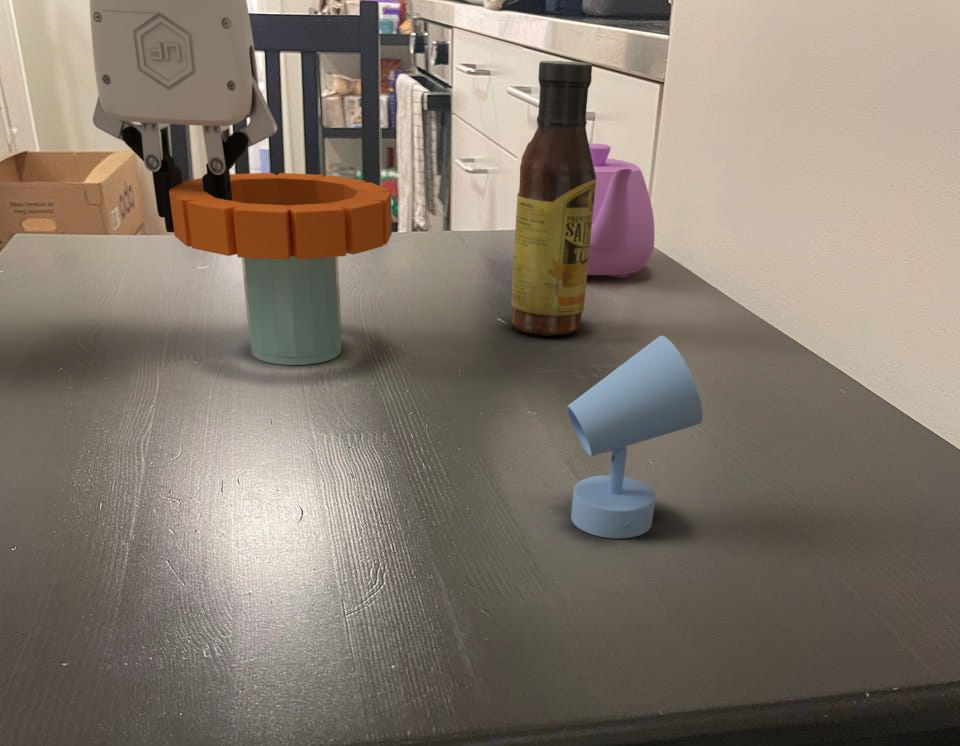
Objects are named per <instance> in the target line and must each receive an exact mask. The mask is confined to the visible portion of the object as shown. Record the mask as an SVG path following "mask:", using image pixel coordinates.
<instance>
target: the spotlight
mask: <svg viewBox="0 0 960 746" xmlns="http://www.w3.org/2000/svg"><path fill="white" fill-rule="evenodd" d="M701 400H702V399H701V397H700V394H699V390H698V388H697V385H696V382H695V379H694V377H693V374H692V373H691V371H690V369H689V367H688V365H687V363H686V361H685V359H684V358H683V356H682V354H681V353H680V351H679V350H678V349H677V347H676V346H675V344H674V343H673V342H672V341H671V340H670V339H669V338H667V337H666V336H664V335H659V336H658V337H656V338H655V339H653V340H652V341H650V343H648V344H647V345H646V346H645V347H643V348H642V349H641V350H639V351H638V352H636V353H635V354H634V355H633V356H631V357H630V358H629V359H627V360H626V361H625V362H624V363H622V364H620V366H618V367H617V368H616V369H614V370H612V372H610V373H609V374H608V375H606V376H605V377H604V378H603V379H601V380H600V381H598V382H597V383H596V384H595V385H593V386H592V387H591V388H589V389H588V390H587V391H585V392H584V393H583V394H582V395H580V396H579V397H577V398H576V399H575V400H574V401H573V400H572V402H571V403H569V404H568V405H567V406H566V410H567V411H566V412H567V416H568V418H569V421H570V424H571V426H572V428H573V431H574V433H575V435H576V438H577V439H578V441H579V443H580V445H581V446H582V448H583V449H584V452H586V454H587V455H588V457H596V456H598V455H601V454H605V453H608V452H611V459H610V467H609V475H594V476H590V477H587V478H584V479H581V480H580V481H578V482H577V483H576V484H575V485H574V487H573V491H572V492H573V493H572V501H571V512H570V519H571V522H572V524H573V525H574V526H575V527H576V528H578V529H579V530H580V531H583V532H585V533H587V534H590V535H593V536H597V537H599V538H600V537H602V538H607V539H630V538H636V537H639V536H641V535H644V534H646V533H647V532H648V531H649V530H650V529H652V525H653V518H654V511H655V505H656V497H657V496H656V493H655V491H654V490H653V488H651V487H650V486H649V485H647V484H646V483H644V482H643V481H639V480H638V479H634V478H630V477H626V476H625V471H626V470H625V469H626V462H627V455H628V450H627V449H628V448H627V447H628V446H631V445H635V444H638V443H641V442H645V441H648V440H651V439H654V438H658V437H662V436H665V435H668V434H672V433H674V432H679V431H681V430H685V429H689V428H692V427H695V426H698V425H700V424H702V422H703V419H704V418H703V417H704V414H703V405H702V401H701Z"/></svg>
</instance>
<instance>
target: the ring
mask: <svg viewBox="0 0 960 746" xmlns="http://www.w3.org/2000/svg"><path fill="white" fill-rule="evenodd" d="M202 178H203V177H200V178H193V179H188V180H187V181H183V182H182V183H180V184H179V185H177V186H175V187H173V188H172V189H170V190H169V195H170V203H171V211H172V218H173V226H174V232H173V234H174V237H175V238H176V239H177V240H179V241H180V242H181V243H182V244H184V245H185V247H189V248H190V247H191V248H192V249H194V250H199V251H203V252H208V253H213V254H218V255H222V256H228V257H231V256H235V255H236V256H237V258H241V257H243V258H264V259H284V260H289V259H290V257H291V256H294V257H295V258H297V259H299V260H300V259H313V258H325V257H338V258H339V257H346V256H347V254H348V255H357V254H361V253H365V252H367V251H371V250H374V249H378V248H382V247H383V246H384V245H385V246H386V245H388V242H389V240H390V238H391V236H392V234H393V231H392V230H393V228H392V227H393V226H392V224H393V223H392V221H393V220H392V219H393V218H392V192H391V190H390V189H388V188H385V187H384V186H381V185H378V184H376V183H373V182H370V181H369V182H367V181H366V180H362V179H357V178H356V179H355V178H351V177H350V178H349V177H343V176H336V175H327V176H324V175H323V174H316V173H315V174H311V173H293V172H292V173H291V172H280V173H278V174H277V175H276V174H275V173H273V172H255V173H251V172H250V173H230V181H231V192H232V201H230V200H224V199H218V198H214V197H213V196H211V195H210V194H208V193H207V192H205V191H204V190H203V181H202Z"/></svg>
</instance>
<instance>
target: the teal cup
mask: <svg viewBox="0 0 960 746" xmlns="http://www.w3.org/2000/svg"><path fill="white" fill-rule="evenodd" d="M240 258H241V266H242V267H241V268H242V278H243V289H244V296H245V297H244V298H245V307H246V317H247V327H248V328H247V329H248V337H249V345H250V348H251V349H250V351H251V355H252V356H253V357H254V358H256V359H257V360H259V361H262V362H266V363H270V364H275V365H283V366H307V365H315V364H320V363H324V362H329V361H331V360H334V359H336V358H337V357H339V355H340V354H341V353H342V343H343V338H342V337H343V336H342V316H341V294H340V293H341V291H340V273H339V272H340V271H339V256H338V257H325V258H313V259H300V260H299V259H297V258H295V257H294V256H291V257H290V259H289V260H284V259H264V258H243V257H240Z"/></svg>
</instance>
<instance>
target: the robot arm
mask: <svg viewBox="0 0 960 746" xmlns="http://www.w3.org/2000/svg"><path fill="white" fill-rule="evenodd" d="M89 15H90V30H91V31H90V32H91V43H92V45H91V46H92V55H93V65H94V66H93V67H94V72H95V82H96V88H97V89H96V90H97V93H98V94H97V95H98V97H97V100H96V104H95V108H94V112H93V114H92V115H93V116H92V122H93V126H95V127H96V128H97V129H98V130H100V131H102V132H105V133H106V134H108V135H110V136H111V137H113V138H116V139H117V140H120V141H122V142H124V144H126V145H127V147H128V148H130V150H131V151H133V153H134V154H135V155H136V156H137V157H138V158H140V160H141V161H143V164H144V166H145V168H146V169H147V170H148V171H150V172H151V173H152V174H151V175H152V180H153V187H154V188H153V189H154V196H155V203H156V210H157V211H156V212H157V215H158V217H159V218H164V226H165V231H166V233H174V226H173V218H172V211H171V203H170V195H169V190H170V189H172V188H173V187H175V186H177V185H179V184H180V183H182V182H184V181H183V173H182V169H180V166H178V165H176V163H175V162H176V161H175V158H174V157H173V148H172V136H171V125H181V126H182V125H183V126H202V133H203V139H204V145H205V146H204V147H205V152H206V159H207V163H206V164H205V165H206V167H205V168H206V173H205V174H203V175H202V177H201V178H202V181H203V190H204V191H205V192H207V193H208V194H210V195H211V196H213V197H214V198H218V199H224V200H230V201H232V192H231V181H230V174H231V172H230V170H231V169H232V168H233V167H234V166H235V164H236V163H237V162H238V160H240V158H241V157H242V156H243V155H244V153H246V151H247V150H248V148H250V147H253V146H254V145H255V146H256V145H257V144H258V143H259V144H260V143H261V142H263V141H265V140H266V139H268V138H271V137H273V136H274V135H275V134H276V133H277V131H278V124H277V122H276V120H275V118H274V115H273V114H272V112H271V110H270V108H269V105H268V104H267V101H266V99H265V97H264V95H263V93H262V91H261V89H260V83H259V74H258V66H257V65H258V64H257V58H256V57H257V56H256V51H255V50H256V49H255V44H254V37H253V31H252V26H251V24H252V23H251V19H250V14H249V8H248V2H247V0H89ZM248 118H249V123H248V124H247V125H246V126H244V127H242V128H240V129H238V130H236V131H235V132H231V126H234V125H236V124H239V123H241V122H242V121H244V120H245V119H248ZM136 123H137V124H136ZM138 123H139V124H138Z"/></svg>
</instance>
